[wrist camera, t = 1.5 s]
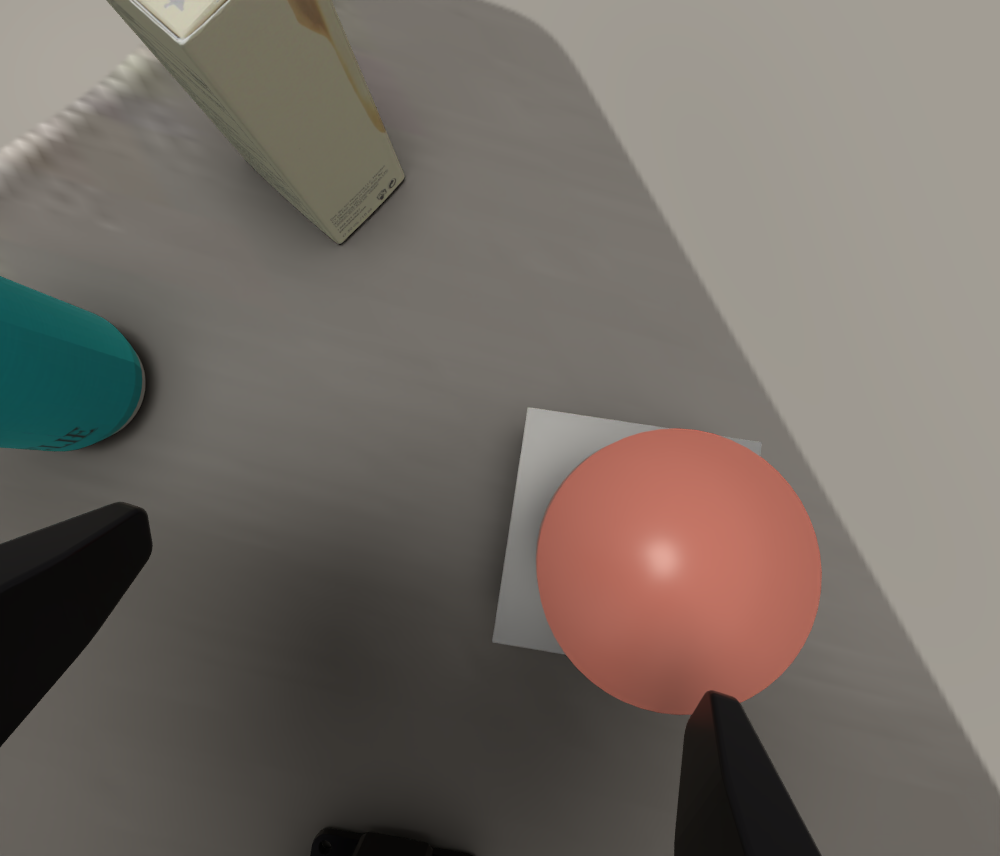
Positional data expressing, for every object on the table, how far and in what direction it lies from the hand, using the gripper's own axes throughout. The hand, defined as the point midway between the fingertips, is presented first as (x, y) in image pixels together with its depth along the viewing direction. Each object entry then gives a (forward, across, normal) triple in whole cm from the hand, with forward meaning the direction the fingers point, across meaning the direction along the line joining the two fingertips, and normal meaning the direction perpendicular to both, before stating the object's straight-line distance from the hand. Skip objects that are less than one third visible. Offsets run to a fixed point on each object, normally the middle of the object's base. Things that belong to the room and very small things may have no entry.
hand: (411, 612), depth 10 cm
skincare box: (+21, +12, -1) cm, 24 cm away
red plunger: (+9, -4, +5) cm, 12 cm away
